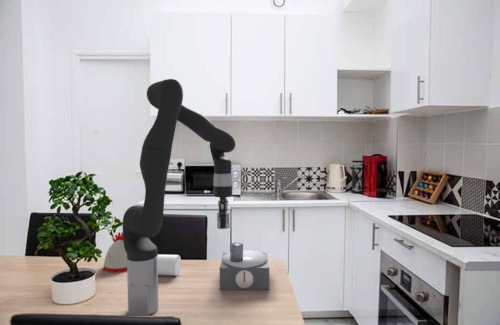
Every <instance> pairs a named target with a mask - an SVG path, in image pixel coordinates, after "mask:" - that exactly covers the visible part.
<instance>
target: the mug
mask: <svg viewBox="0 0 500 325" xmlns="http://www.w3.org/2000/svg"><path fill="white" fill-rule="evenodd" d="M181 265H182V259H181V256H180V255H179V254H158V276H176V277H177V276H179V274H180V271H181V267H182V266H181Z"/></svg>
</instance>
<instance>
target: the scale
mask: <svg viewBox="0 0 500 325" xmlns="http://www.w3.org/2000/svg"><path fill="white" fill-rule="evenodd" d="M219 290H222V291H223V290H227V291H229V290H230V291H231V290H233V291H234V290H235V291H236V290H239V291H240V290H242V291H243V290H247V291H248V290H250V291H251V290H257V291H258V290H260V291H261V290H262V291H263V290H264V291H265V290H268V291H269V290H270V264H269V258H268V253H267V252H260V251H256V250H249V249H248V250H247V249H246V250H245V249H243V261H242V262H231V261H230V252H223V253H222V258H221V261H220V263H219Z"/></svg>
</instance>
